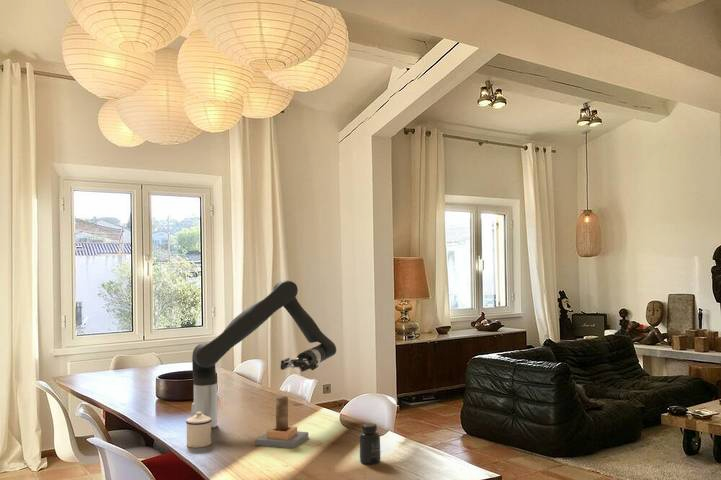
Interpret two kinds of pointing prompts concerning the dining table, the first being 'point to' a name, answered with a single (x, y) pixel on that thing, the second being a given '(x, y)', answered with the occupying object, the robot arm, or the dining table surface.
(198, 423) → the teacup with lid
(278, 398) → the walnut peg
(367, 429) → the supplement bottle
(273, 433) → the collar base
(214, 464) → the dining table surface
